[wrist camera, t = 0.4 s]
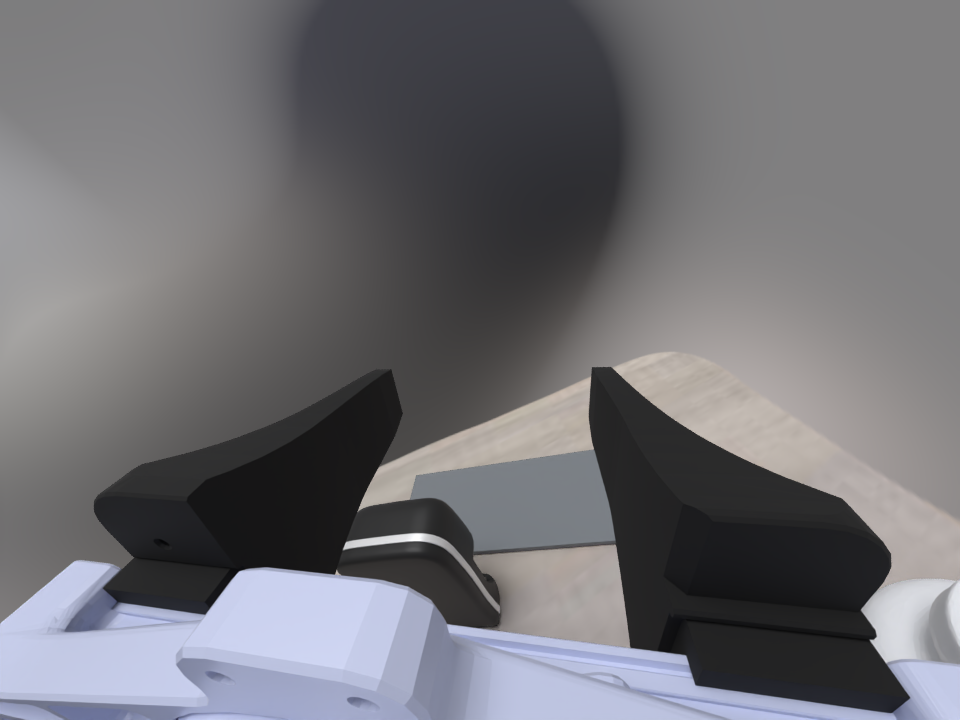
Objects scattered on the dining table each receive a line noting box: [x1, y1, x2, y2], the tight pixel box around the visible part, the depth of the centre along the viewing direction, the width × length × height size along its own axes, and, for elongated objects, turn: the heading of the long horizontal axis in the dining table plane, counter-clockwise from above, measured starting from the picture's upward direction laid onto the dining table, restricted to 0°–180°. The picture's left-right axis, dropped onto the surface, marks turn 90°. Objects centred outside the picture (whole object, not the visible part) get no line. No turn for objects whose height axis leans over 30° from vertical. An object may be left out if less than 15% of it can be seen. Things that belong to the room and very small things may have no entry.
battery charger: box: [337, 498, 500, 627], centre depth 22 cm, size 7×4×11 cm, turn 87°
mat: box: [410, 450, 616, 555], centre depth 30 cm, size 8×20×1 cm, turn 86°
